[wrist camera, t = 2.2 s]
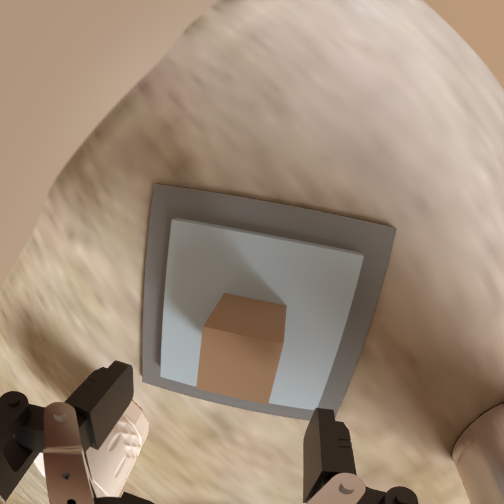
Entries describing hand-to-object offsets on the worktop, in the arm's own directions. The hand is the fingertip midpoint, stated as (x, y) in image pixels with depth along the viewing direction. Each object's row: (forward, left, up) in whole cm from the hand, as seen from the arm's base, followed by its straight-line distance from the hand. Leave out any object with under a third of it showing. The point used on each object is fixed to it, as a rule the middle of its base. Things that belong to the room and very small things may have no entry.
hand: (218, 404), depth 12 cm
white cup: (+11, +14, -10) cm, 20 cm away
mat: (0, 0, -10) cm, 10 cm away
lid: (0, 0, -9) cm, 9 cm away
